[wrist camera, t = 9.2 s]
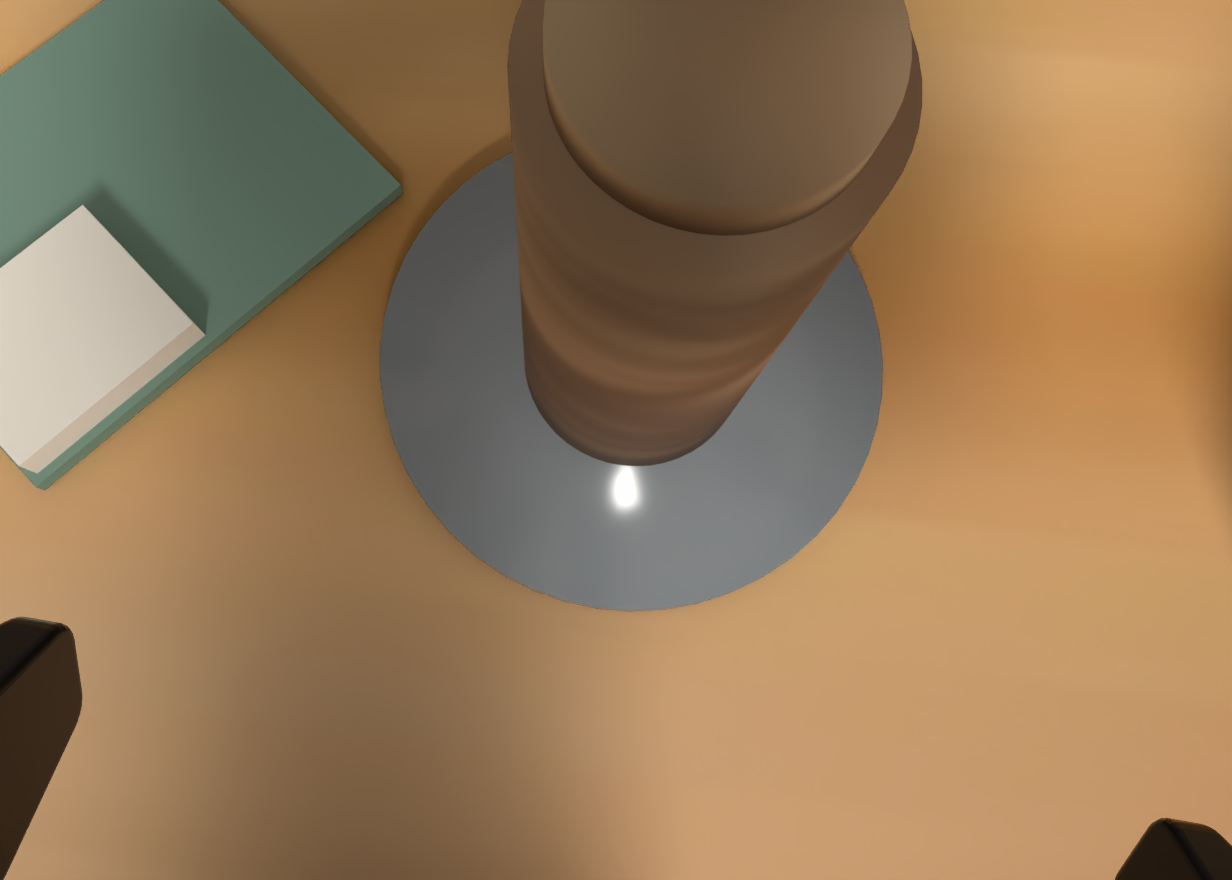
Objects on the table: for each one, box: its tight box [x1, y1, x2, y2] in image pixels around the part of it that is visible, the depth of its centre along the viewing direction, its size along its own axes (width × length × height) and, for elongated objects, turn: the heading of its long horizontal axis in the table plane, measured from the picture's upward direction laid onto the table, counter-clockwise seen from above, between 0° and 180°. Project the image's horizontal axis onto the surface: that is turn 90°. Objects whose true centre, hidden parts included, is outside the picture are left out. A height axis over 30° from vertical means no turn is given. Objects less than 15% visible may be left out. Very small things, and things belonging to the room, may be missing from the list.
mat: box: [0, 0, 403, 490], centre depth 23 cm, size 10×8×1 cm
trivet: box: [380, 152, 883, 612], centre depth 23 cm, size 11×11×1 cm
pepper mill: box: [508, 0, 922, 466], centre depth 17 cm, size 5×5×12 cm
